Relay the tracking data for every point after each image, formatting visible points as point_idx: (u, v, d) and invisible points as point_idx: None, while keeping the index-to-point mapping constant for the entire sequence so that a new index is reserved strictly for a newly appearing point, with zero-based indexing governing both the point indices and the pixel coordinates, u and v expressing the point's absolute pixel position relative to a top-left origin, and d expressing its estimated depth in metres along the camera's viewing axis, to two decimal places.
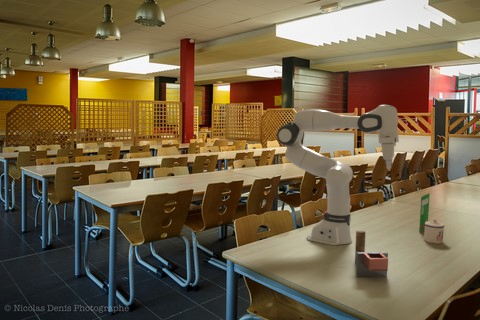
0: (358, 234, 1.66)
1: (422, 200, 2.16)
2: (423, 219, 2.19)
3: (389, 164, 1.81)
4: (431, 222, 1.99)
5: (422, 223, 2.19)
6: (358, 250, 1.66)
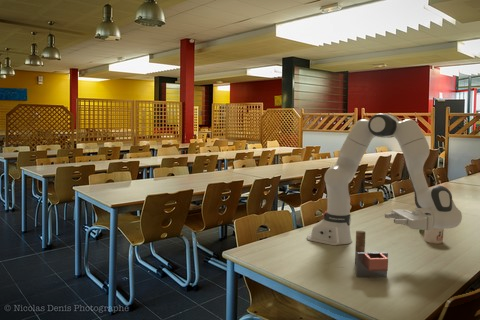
0: (358, 234, 1.66)
1: None
2: None
3: (400, 223, 1.61)
4: None
5: None
6: (358, 250, 1.66)
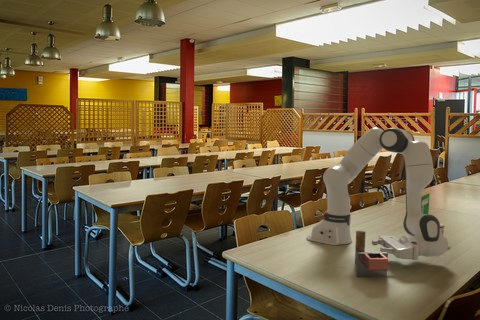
0: (358, 234, 1.66)
1: (422, 200, 2.16)
2: None
3: (387, 251, 1.62)
4: None
5: None
6: (358, 250, 1.66)
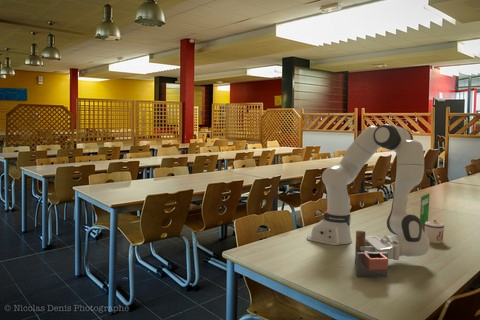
0: (358, 234, 1.66)
1: (422, 200, 2.16)
2: (423, 219, 2.19)
3: (366, 250, 1.64)
4: (431, 222, 1.99)
5: (422, 223, 2.19)
6: (358, 250, 1.66)
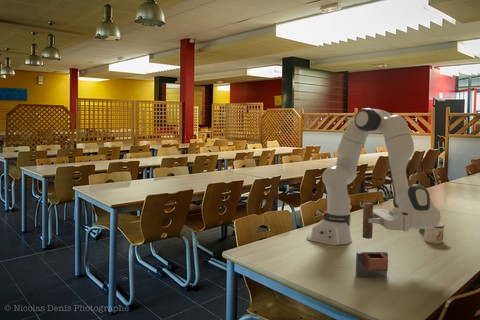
0: (365, 206, 1.58)
1: None
2: None
3: (374, 222, 1.56)
4: None
5: None
6: (366, 223, 1.59)
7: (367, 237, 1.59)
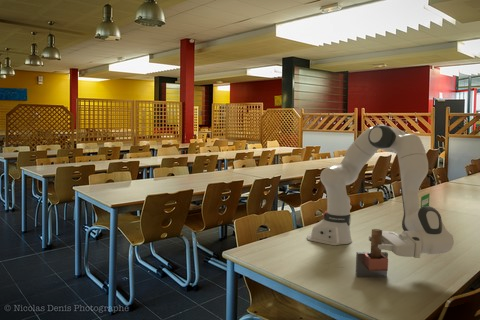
0: (374, 233, 1.48)
1: (422, 200, 2.16)
2: None
3: (385, 248, 1.44)
4: None
5: None
6: (374, 251, 1.49)
7: None
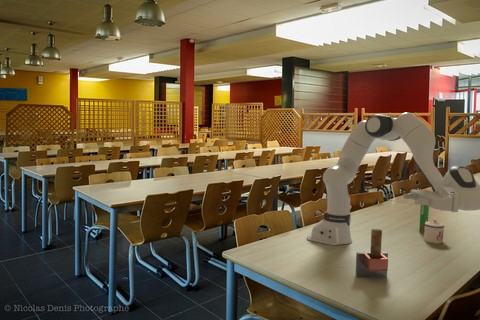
0: (374, 233, 1.48)
1: None
2: (423, 219, 2.19)
3: (422, 203, 1.43)
4: (431, 222, 1.99)
5: (422, 223, 2.19)
6: (374, 251, 1.49)
7: None
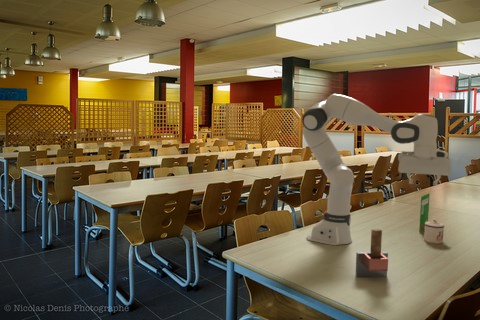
0: (374, 233, 1.48)
1: (422, 200, 2.16)
2: (423, 219, 2.19)
3: None
4: (431, 222, 1.99)
5: (422, 223, 2.19)
6: (374, 251, 1.49)
7: None
